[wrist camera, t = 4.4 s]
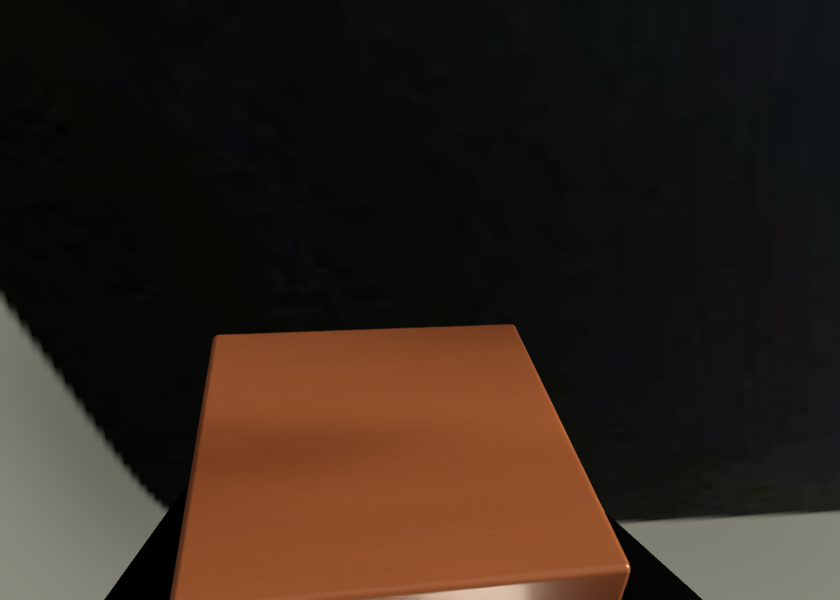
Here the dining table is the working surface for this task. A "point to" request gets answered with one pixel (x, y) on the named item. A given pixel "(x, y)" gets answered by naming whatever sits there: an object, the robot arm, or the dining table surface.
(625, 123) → the dining table surface
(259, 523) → the block
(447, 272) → the dining table surface
